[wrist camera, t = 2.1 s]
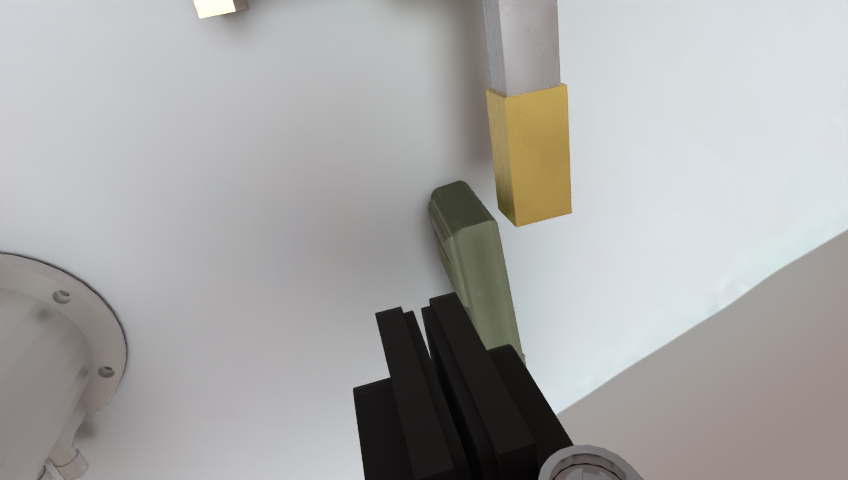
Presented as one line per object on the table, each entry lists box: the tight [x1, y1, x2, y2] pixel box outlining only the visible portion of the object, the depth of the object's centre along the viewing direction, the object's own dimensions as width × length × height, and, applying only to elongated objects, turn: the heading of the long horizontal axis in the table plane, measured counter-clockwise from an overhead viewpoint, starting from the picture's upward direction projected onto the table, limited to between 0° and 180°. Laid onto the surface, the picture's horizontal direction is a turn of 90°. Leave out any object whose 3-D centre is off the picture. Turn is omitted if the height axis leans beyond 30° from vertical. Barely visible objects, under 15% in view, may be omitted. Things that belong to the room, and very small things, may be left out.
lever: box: [482, 0, 572, 227], centre depth 21 cm, size 16×4×2 cm, turn 10°
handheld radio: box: [429, 181, 526, 366], centre depth 35 cm, size 7×3×25 cm
